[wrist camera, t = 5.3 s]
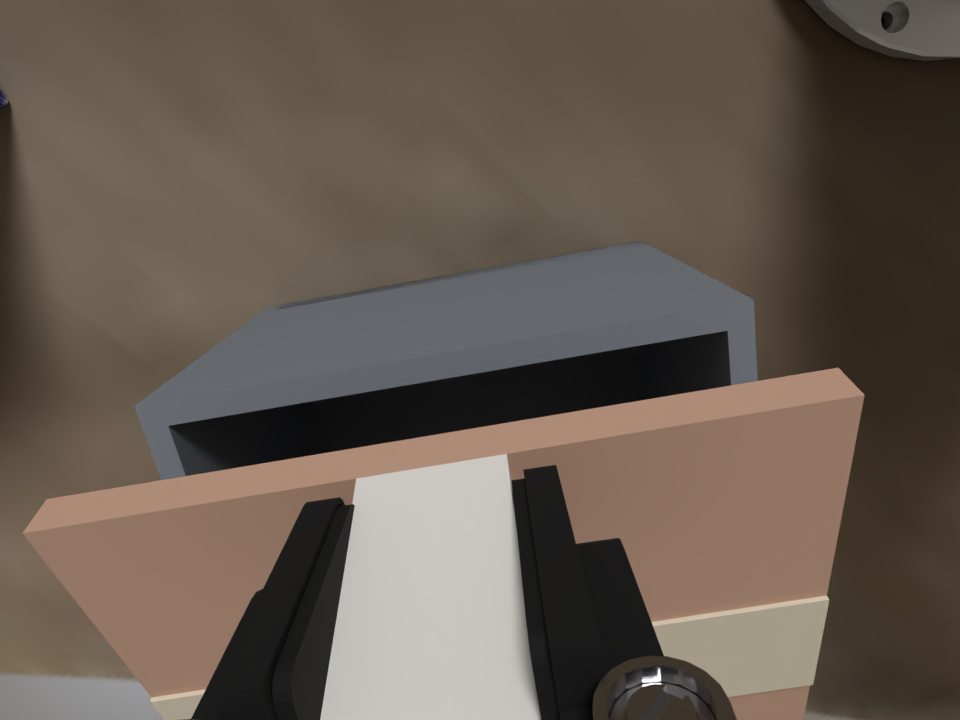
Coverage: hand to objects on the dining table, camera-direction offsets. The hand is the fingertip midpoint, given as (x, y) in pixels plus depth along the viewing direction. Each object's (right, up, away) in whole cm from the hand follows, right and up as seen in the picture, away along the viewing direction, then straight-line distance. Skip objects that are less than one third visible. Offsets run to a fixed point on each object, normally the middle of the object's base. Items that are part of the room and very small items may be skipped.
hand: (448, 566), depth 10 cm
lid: (+1, -3, +4) cm, 6 cm away
